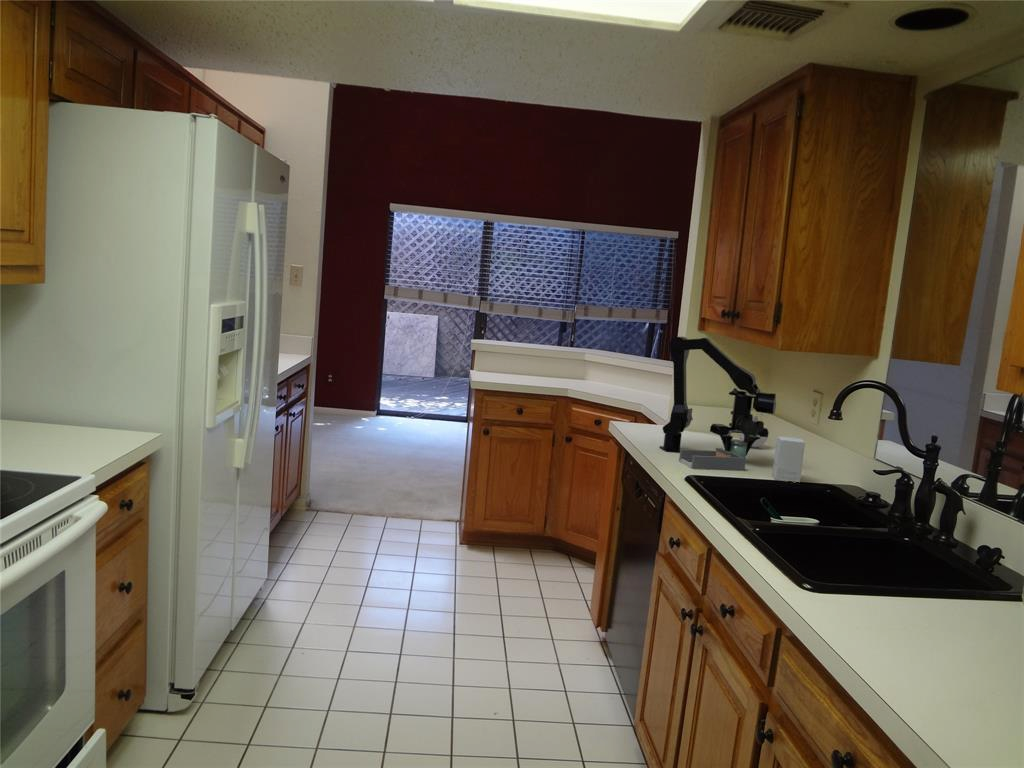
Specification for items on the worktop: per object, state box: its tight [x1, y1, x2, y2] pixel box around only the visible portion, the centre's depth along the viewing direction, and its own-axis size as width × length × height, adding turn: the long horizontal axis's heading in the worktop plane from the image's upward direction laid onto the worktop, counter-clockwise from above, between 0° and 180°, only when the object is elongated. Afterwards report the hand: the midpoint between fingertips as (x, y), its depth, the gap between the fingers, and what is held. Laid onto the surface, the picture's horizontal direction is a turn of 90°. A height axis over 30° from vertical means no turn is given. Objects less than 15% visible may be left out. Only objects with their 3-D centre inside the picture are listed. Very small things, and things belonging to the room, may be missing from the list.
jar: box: [730, 438, 748, 458], centre depth 255 cm, size 6×6×7 cm
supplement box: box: [771, 435, 806, 483], centre depth 235 cm, size 7×7×13 cm
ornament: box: [738, 415, 769, 448], centre depth 285 cm, size 10×10×12 cm
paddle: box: [715, 447, 732, 457], centre depth 245 cm, size 7×2×5 cm, turn 13°
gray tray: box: [678, 448, 747, 471], centre depth 245 cm, size 10×18×4 cm, turn 103°
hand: (736, 455), depth 255 cm, fingers closed on jar, 6 cm apart
